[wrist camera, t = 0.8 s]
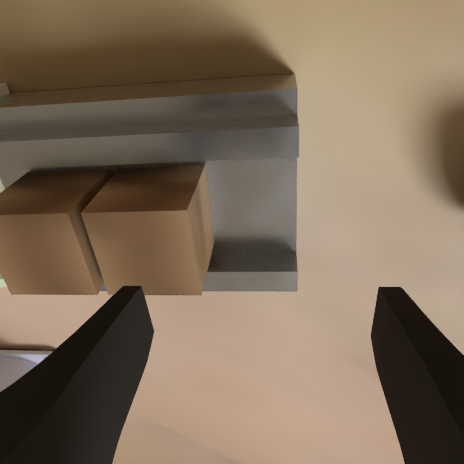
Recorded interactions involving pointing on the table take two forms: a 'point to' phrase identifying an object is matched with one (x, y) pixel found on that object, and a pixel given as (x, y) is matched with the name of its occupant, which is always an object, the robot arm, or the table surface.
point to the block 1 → (49, 233)
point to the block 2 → (153, 230)
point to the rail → (181, 157)
